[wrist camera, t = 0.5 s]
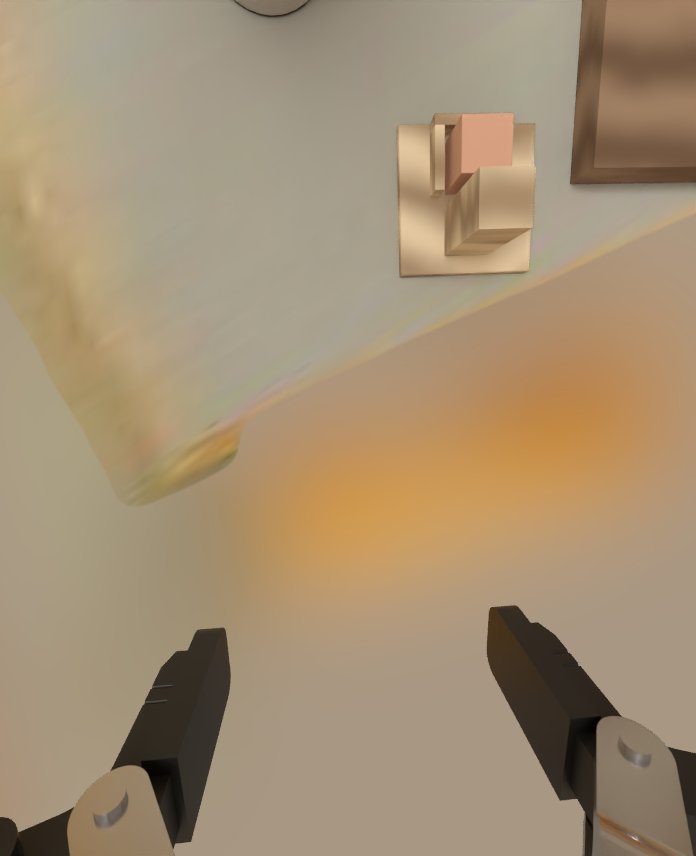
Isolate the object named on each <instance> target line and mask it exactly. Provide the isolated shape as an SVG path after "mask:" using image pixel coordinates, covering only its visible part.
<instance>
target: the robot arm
mask: <svg viewBox="0 0 696 856" xmlns="http://www.w3.org/2000/svg"><path fill="white" fill-rule="evenodd" d="M236 1H237V2H238V3H239V4H241V5H242V6H244V7H245V8H247V9H249V10H251V11H254V12H257V13H259V14H265V15H272V16H273V15H282V14H286V13H289V12H291V11H294V10H296V9H298V8H299V7H300V6H302V5H303V4H305V3H306V2H307V1H308V0H236ZM228 655H229V654H228V646H227V638H226V631H225V629H224V628H213V629H201V630H197V631H196V633H195V635H194V637H193V640H192V642H191V644H190V647H189V649H188V651H177V652H175V654H174V655H173V656H172V657H171V658H170V659H169V660H168V661H167V662H166V663H165V664H164V665H163V666H162V667H161V669H160V671H159V673H158V675H157V677H156V679H155V681H154V684H153V686H152V689H151V690H150V692H149V694H148V696H147V698H146V700H145V704H144V705H143V706H142V708H141V710H140V712H139V714H138V716H137V719H136V720H135V722H134V725H133V727H132V729H131V731H130V733H129V735H128V737H127V739H126V741H125V743H124V745H123V747H122V749H121V751H120V753H119V755H118V757H117V759H116V761H115V763H114V765H113V767H112V769H111V771H110V772H108V773H107V774H105V775H103V776H102V777H101V778H99V779H98V780H97V781H95V782H94V783H93V784H92V785H91V786H90V787H89V788H88V789H87V790H86V791H85V792H84V794H83V795H82V796H81V797H80V799H79V800H78V802H77V803H76V805H75V807H73V808H72V809H70V810H68V811H66V812H64V813H62V814H60V815H58V816H56V817H53V818H51V819H49V820H46V821H44V822H42V823H39V824H37V825H35V826H33V827H30V828H28V829H25V830H23V831H21V832H18V830H17V827H16V824H15V823H14V822H13V821H12V820H11V819H9V818H4V817H0V856H175V854H174V851H173V849H174V845H175V844H176V843H185V842H191V840H192V836H193V832H194V828H195V824H196V820H197V816H198V812H199V809H200V805H201V801H202V797H203V793H204V789H205V785H206V781H207V777H208V773H209V769H210V766H211V762H212V758H213V754H214V750H215V746H216V742H217V739H218V735H219V731H220V727H221V723H222V719H223V715H224V711H225V707H226V703H227V700H228V695H229V690H230V678H231V677H230V676H231V675H230V664H229V656H228ZM487 657H488V662H489V665H490V668H491V671H492V673H493V675H494V677H495V679H496V681H497V683H498V685H499V687H500V688H501V690H502V692H503V694H504V696H505V698H506V700H507V702H508V703H509V705H510V707H511V709H512V711H513V713H514V715H515V717H516V719H517V720H518V722H519V724H520V726H521V728H522V730H523V732H524V734H525V735H526V737H527V739H528V741H529V743H530V745H531V747H532V749H533V751H534V753H535V754H536V756H537V758H538V760H539V762H540V764H541V766H542V767H543V769H544V771H545V773H546V775H547V777H548V779H549V781H550V783H551V785H552V787H553V788H554V790H555V792H556V794H557V796H558V798H559V800H569V799H578V801H579V803H580V804H581V806H582V808H583V810H584V811H585V813H584V821H583V853H582V856H696V753H691V752H687V751H682V750H678V749H673V748H670V747H667V746H666V745H665V743H664V742H663V741H662V740H661V739H660V738H659V737H658V736H656V735H655V734H654V733H653V732H652V731H650V730H649V729H647V728H646V727H644V726H643V725H641V724H639V723H637V722H635V721H633V720H630V719H627V718H624V717H622V716H621V715H620V714H619V713H618V711H617V710H616V709H615V708H614V707H613V705H612V704H611V703H610V702H609V701H608V699H607V698H606V697H605V696H604V694H603V693H602V692H601V691H600V689H599V688H598V687H597V686H596V685H595V683H594V682H593V681H592V680H591V679H590V677H589V676H588V675H587V674H586V672H585V671H584V670H583V669H582V667H581V666H578V662H577V661H576V660H575V659H574V658H573V656H572V655H571V654H570V653H568V652H567V649H566V648H565V647H564V645H563V644H562V643H561V642H560V640H559V639H558V638H557V637H556V636H555V635H554V634H553V633H552V632H550V631H549V630H548V629H546V628H545V627H543V626H542V625H541V624H539V623H530V622H529V620H528V619H527V618H526V616H525V615H524V614H523V612H522V611H521V610H520V609H519V607H517V606H515V605H514V606H501V607H491V608H490V611H489V621H488V637H487Z"/></svg>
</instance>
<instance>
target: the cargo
mask: <svg viewBox="0 0 696 856" xmlns="http://www.w3.org/2000/svg"><path fill="white" fill-rule="evenodd" d="M512 140H513V114H462V115H461V117H460V119H459V120H458V122H457V124H456V125H455V127H454V129H453V130H452V132H451V134H450V136H449V137H448V139H447V141H446V142H445V194H457V193H458V192H459V190H460V189H461V188H462V187H463V186H464V185H465V183H466V182H467V181H468V180H469V179H470V178H471V176H472V175H473V174H474V173H475V172H476V171H477V170H478V168H479V167H487V166H512Z"/></svg>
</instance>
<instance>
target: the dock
mask: <svg viewBox="0 0 696 856" xmlns="http://www.w3.org/2000/svg"><path fill="white" fill-rule="evenodd" d="M661 182H696V0H583V2H582V17H581V32H580V47H579V62H578V77H577V92H576V106H575V121H574V136H573V151H572V166H571V181H570V184H592V183H661Z"/></svg>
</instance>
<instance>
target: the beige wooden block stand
mask: <svg viewBox="0 0 696 856" xmlns="http://www.w3.org/2000/svg"><path fill="white" fill-rule="evenodd" d="M462 114H513V123H514V113H437V114H435V115H434V117H433V119H432V121H431V123H430V125H398V128H397V170H398V220H399V270H400V277H408V276H435V275H462V274H489V273H516V272H526V271H529V252H530V230H531V229H532V228H533V215H534V193H535V171H536V166H533V162H534V140H535V123H527V124H513V140H512V166H487V167H479V168H478V170H477V171H476V172H475V173H474V174H473V175H472V176H471V178H470V179H469V180H468V181H467V182H466V183H465V185H464V186H463V187H462V188H461V189H460V190H459V192H458V193H457V194H445V142H446V141H447V139H448V137H449V136H450V134H451V132H452V130H453V129H454V127H455V125H456V124H457V122H458V120H459V119H460V117H461V115H462Z"/></svg>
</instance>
